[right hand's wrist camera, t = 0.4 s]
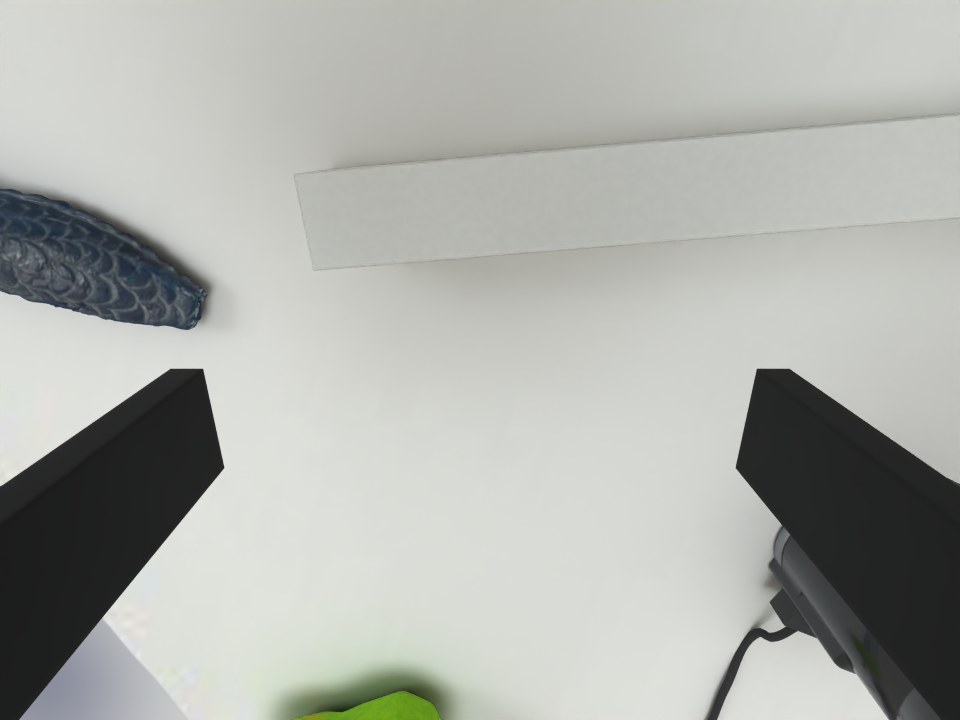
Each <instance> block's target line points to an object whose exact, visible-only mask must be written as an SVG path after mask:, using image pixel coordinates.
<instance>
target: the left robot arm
mask: <svg viewBox="0 0 960 720" xmlns="http://www.w3.org/2000/svg"><path fill="white" fill-rule="evenodd" d="M774 554H775V559H774V561H773V562H772V563H771V564H770V566H769V568H770V570H771V571H772V573H773V574H774V575H775V577H776V578H777V580H778V581H779V583H780V584H781V586H782V587H783V588H782V589H781V590H780V591H779V592H778V594H777V595H776V596H775V597H774V598H773V599H772V600H771V601H770V604H771V605H772V607H773V608H774V610H775V612H776V613H777V615H778V616H779V618H780V620H781V621H782V623H783V624H784V625H785V626H786V627H785V628H783V629H781V630H779V631H777V632H773V633H769V632H767V631H765V630H763V629H761V628H757V629H755V630H753V631H751V632H750V633H748V634H747V636H746V637H745V638H744V639H743V641H742V642H741V644H740V646H739V647H738V649H737V651H736V653H735V655H734V657H733V660H732V662H731V665H730V668H729V671H728V673H727V676H726V678H725V680H724V682H723V684H722V686H721V688H720V690H719V693H718V695H717V698H716V700H715V703H714V706H713V708H712V711H711V714H710V716H709V718H708V720H717V718H718V716H719V713H720V710H721V708H722V705H723V703H724V700H725V698H726V696H727V694H728V692H729V690H730V688H731V686H732V683H733V681H734V679H735V676H736V674H737V671H738V668H739V666H740V663H741V661H742V658H743V656H744V654H745V652H746V650H747V648H748V647H749V645H750V644H751V643H752V642H753V641H754V640H756V639H757V638H759V637H762V638H764V639H765V640H768V641H770V642H775V641H780V640H782V639H785V638H787V637H788V636H790V635H792V634H793V633H795V632H797V631H800V632H803V633H805V634H808V635H810V636H813V637H815V638H818V640H819V641H820V643H821V644H822V646H823V647H824V649H825V650H826V652H827V653H828V654H829V656H830V657H831V659H832V660H833V662H834V663H835V664H836V665H837V666H838V667H840V668H841V669H844V670H846V671H849V672H852V673H854V674H857V676H858V677H859V678H860V680H861V681H862V683H863V684H864V685H865V687H866V688H867V690H868V691H869V692H870V694H871V695H872V697H873V698H874V700H875V701H876V702H877V704H878V705H879V707H880V708H881V709H882V711H883V712H884V714H885V715H886V716H887V718H888V719H889V720H941V719H940V718H939V717H938V715H937V714H936V713H935V712H934V710H933V709H932V708H931V707H930V706H929V704H928V703H927V702H926V701H925V699H924V698H923V697H922V696H921V695H920V693H919V692H918V691H917V690H916V688H915V687H914V686H913V685H912V684H911V682H910V681H909V680H908V679H907V677H906V676H905V675H904V674H903V672H902V671H901V670H900V669H899V668H898V666H897V665H896V664H895V663H894V661H893V660H892V659H891V658H890V657H889V655H888V654H887V653H886V652H885V650H884V649H883V648H882V647H881V646H880V644H879V643H878V642H877V641H876V639H875V638H874V637H873V636H872V634H871V633H870V632H869V631H868V630H867V628H866V627H865V626H864V625H863V623H862V622H861V621H860V620H859V619H858V617H857V616H856V615H855V614H854V612H853V611H852V610H851V609H850V608H849V606H848V605H847V604H846V603H845V601H844V600H843V599H842V598H841V596H840V595H839V594H838V593H837V592H836V590H835V589H834V588H833V587H832V585H831V584H830V583H829V582H828V581H827V579H826V578H825V577H824V576H823V574H822V573H821V572H820V571H819V570H818V568H817V567H816V566H815V565H814V563H813V562H812V561H811V560H810V558H809V557H808V556H807V555H806V554H805V552H804V551H803V550H802V549H801V547H800V546H799V545H798V544H797V543H796V541H795V540H794V539H793V538H792V536H791V535H790V534H789V533H788V532H787V530H786V529H785V528H784V527H783V528H782V530H781V531H780V533H779V535H778V537H777V540H776V543H775V549H774Z"/></svg>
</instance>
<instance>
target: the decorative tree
mask: <svg viewBox="0 0 960 720" xmlns="http://www.w3.org/2000/svg"><path fill="white" fill-rule="evenodd" d="M292 720H441V718H440V716H439V713H438V711H437V710H436V708H435V707H434V705H433V704H432V703H431V702H429V701H427V700H425V699H423V698H420V697H418V696H416V695H414V694H411V693H409V692H407V691H398V692H395V693H392V694H389V695H386V696H383V697H380V698H377V699H374V700H371V701H368V702H365V703H363V704H361V705H358V706H356V707H354V708H352V709H349V710H347V711H344V712H329V711H325V712H319V713H315V714H311V715H307V716H303V717H299V718H295V719H292Z"/></svg>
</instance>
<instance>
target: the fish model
mask: <svg viewBox="0 0 960 720" xmlns="http://www.w3.org/2000/svg"><path fill="white" fill-rule="evenodd" d="M0 291H2V292H5V293H8V294H13V295H19V296H21V297H22V298H24V299H26V300H28V301H31V302H39V303H47V304H50V305H54V306H55V307H62V308H65V309H71V310H72V311H76V312H81V313H83V314H87V315H95V316H98V317H100V318H102V319H105V320H107V319H110V320H114V321H119V322H127V323H133V324H144V325H153V326H172V327H175V328H179V329H184V330H189V329H192V328H194V327H195V326H196V324H197V322H198V320H200V318H201V313H202V302H204V298H205V297H206V296H207V293H206V292H205V291H204V289H202V288H201V287H200V286H199V285H196V284H194V283H192V282H191V281H190V279H189V277H187V276H184V275H181V274H180V273H178V272H177V271H176V270H175V269H174V267H173V266H172V265H171V264H170V263H168V262H166V261H162V260H161V259H160V257H159V256H158V255H157V254H156V253H155V252H154V251H153V250H152V249H151V248H149V247H148V246H144V245H141V244H140V243H139V242H138V241H137V240H136V239H135V238H134V237H132V236H131V235H130V234H128V233H123V232H120V231H118V230H117V229H115V228H114V227H113V226H112V225H111V224H109V223H106V222H103V221H99V220H98V219H97V218H96V217H94V216H93V215H91V214H89V213H87V212H85V211H84V210H76V209H73V208H72V207H71V206H70V205H69V204H68V203H66V202H64V201H55V200H50V199H48V198H46V197H44V196H42V195H36V194H30V195H27V194H22V193H21V192H19V191H16V190H12V189H6V190H2V189H0Z"/></svg>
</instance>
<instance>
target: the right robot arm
mask: <svg viewBox="0 0 960 720" xmlns="http://www.w3.org/2000/svg"><path fill="white" fill-rule="evenodd" d="M223 469H224V464H223V459H222V455H221V450H220V445H219V441H218V436H217V431H216V427H215V422H214V417H213V413H212V408H211V404H210V399H209V394H208V390H207V385H206V380H205V376H204V371H203V369H170V370H168V371H167V372H165V373H164V374H163V375H161V376H160V377H158V378H157V379H155V380H154V381H152V382H151V383H150V384H148V385H147V386H145V387H144V388H142V389H141V390H139V391H138V392H137V393H135V394H134V395H132V396H131V397H129V398H128V399H126V400H125V401H124V402H122V403H121V404H119V405H118V406H116V407H115V408H113V409H112V410H111V411H109V412H108V413H106V414H105V415H103V416H102V417H100V418H99V419H98V420H96V421H95V422H93V423H92V424H90V425H89V426H87V427H86V428H85V429H83V430H82V431H80V432H79V433H77V434H76V435H75V436H73V437H72V438H70V439H69V440H67V441H66V442H64V443H63V444H62V445H60V446H59V447H57V448H56V449H54V450H53V451H51V452H50V453H49V454H47V455H46V456H44V457H43V458H41V459H40V460H38V461H37V462H36V463H34V464H33V465H31V466H30V467H28V468H27V469H25V470H24V471H23V472H21V473H20V474H18V475H17V476H15V477H14V478H12V479H11V480H10V481H8V482H7V483H5V484H4V485H2V486H0V720H19V719H20V718H21V717H22V715H23V714H24V713H25V712H26V710H27V709H28V708H29V707H30V706H31V704H32V703H33V702H34V701H35V699H36V698H37V697H38V696H39V695H40V693H41V692H42V691H43V690H44V688H45V687H46V686H47V685H48V683H49V682H50V681H51V680H52V679H53V677H54V676H55V675H56V674H57V672H58V671H59V670H60V669H61V668H62V666H63V665H64V664H65V663H66V661H67V660H68V659H69V658H70V657H71V655H72V654H73V653H74V652H75V650H76V649H77V648H78V647H79V645H80V644H81V643H82V642H83V641H84V639H85V638H86V637H87V636H88V634H89V633H90V632H91V631H92V630H93V628H94V627H95V626H96V625H97V623H98V622H99V621H100V620H101V619H102V617H103V616H104V615H105V614H106V612H107V611H108V610H109V609H110V608H111V606H112V605H113V604H114V603H115V601H116V600H117V599H118V598H119V596H120V595H121V594H122V593H123V592H124V590H125V589H126V588H127V587H128V585H129V584H130V583H131V582H132V581H133V579H134V578H135V577H136V576H137V574H138V573H139V572H140V571H141V570H142V568H143V567H144V566H145V565H146V563H147V562H148V561H149V560H150V558H151V557H152V556H153V555H154V554H155V552H156V551H157V550H158V549H159V547H160V546H161V545H162V544H163V543H164V541H165V540H166V539H167V538H168V536H169V535H170V534H171V533H172V532H173V530H174V529H175V528H176V527H177V525H178V524H179V523H180V522H181V520H182V519H183V518H184V517H185V516H186V514H187V513H188V512H189V511H190V509H191V508H192V507H193V506H194V505H195V503H196V502H197V501H198V500H199V498H200V497H201V496H202V495H203V494H204V492H205V491H206V490H207V489H208V487H209V486H210V485H211V484H212V482H213V481H214V480H215V479H216V478H217V476H218V475H219V474H220V473H221V471H222V470H223ZM736 469H737V470H738V471H739V473H740V474H741V475H742V476H743V478H744V479H745V480H746V481H747V482H748V484H749V485H750V486H751V487H752V489H753V490H754V491H755V492H756V494H757V495H758V496H759V497H760V498H761V500H762V501H763V502H764V503H765V505H766V506H767V507H768V508H769V509H770V511H771V512H772V513H773V514H774V516H775V517H776V518H777V519H778V520H779V522H780V523H781V524H782V525H783V527H784V528H785V529H786V530H787V532H788V533H789V534H790V535H791V536H792V538H793V539H794V540H795V541H796V543H797V544H798V545H799V546H800V547H801V549H802V550H803V551H804V552H805V554H806V555H807V556H808V557H809V558H810V560H811V561H812V562H813V563H814V565H815V566H816V567H817V568H818V570H819V571H820V572H821V573H822V574H823V576H824V577H825V578H826V579H827V581H828V582H829V583H830V584H831V585H832V587H833V588H834V589H835V590H836V592H837V593H838V594H839V595H840V596H841V598H842V599H843V600H844V601H845V603H846V604H847V605H848V606H849V608H850V609H851V610H852V611H853V612H854V614H855V615H856V616H857V617H858V619H859V620H860V621H861V622H862V623H863V625H864V626H865V627H866V628H867V630H868V631H869V632H870V633H871V634H872V636H873V637H874V638H875V639H876V641H877V642H878V643H879V644H880V646H881V647H882V648H883V649H884V650H885V652H886V653H887V654H888V655H889V657H890V658H891V659H892V660H893V661H894V663H895V664H896V665H897V666H898V668H899V669H900V670H901V671H902V672H903V674H904V675H905V676H906V677H907V679H908V680H909V681H910V682H911V684H912V685H913V686H914V687H915V688H916V690H917V691H918V692H919V693H920V695H921V696H922V697H923V698H924V699H925V701H926V702H927V703H928V704H929V706H930V707H931V708H932V709H933V710H934V712H935V713H936V714H937V715H938V717H939V718H940V719H941V720H960V484H959V483H957V482H954V481H952V480H950V479H948V478H946V477H945V476H943V475H942V474H940V473H939V472H937V471H936V470H935V469H933V468H932V467H930V466H929V465H927V464H926V463H924V462H923V461H922V460H920V459H919V458H917V457H916V456H914V455H913V454H911V453H910V452H909V451H907V450H906V449H904V448H903V447H901V446H900V445H898V444H897V443H896V442H894V441H893V440H891V439H890V438H888V437H887V436H885V435H884V434H883V433H881V432H880V431H878V430H877V429H875V428H874V427H873V426H871V425H870V424H868V423H867V422H865V421H864V420H862V419H861V418H860V417H858V416H857V415H855V414H854V413H852V412H851V411H849V410H848V409H847V408H845V407H844V406H842V405H841V404H839V403H838V402H836V401H835V400H834V399H832V398H831V397H829V396H828V395H826V394H825V393H823V392H822V391H821V390H819V389H818V388H816V387H815V386H813V385H812V384H810V383H809V382H808V381H806V380H805V379H803V378H802V377H800V376H799V375H797V374H796V373H795V372H793V371H792V370H790V369H757V371H756V376H755V380H754V385H753V390H752V394H751V399H750V404H749V408H748V413H747V417H746V422H745V427H744V431H743V436H742V441H741V445H740V450H739V455H738V459H737V464H736Z"/></svg>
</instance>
